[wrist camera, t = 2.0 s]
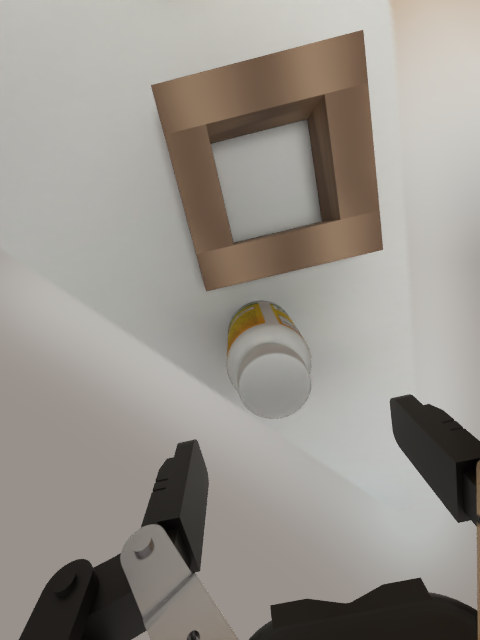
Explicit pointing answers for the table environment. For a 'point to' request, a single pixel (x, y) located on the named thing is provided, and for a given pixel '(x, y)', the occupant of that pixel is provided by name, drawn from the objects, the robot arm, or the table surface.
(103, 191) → the table surface
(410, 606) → the robot arm
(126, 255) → the table surface
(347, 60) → the socket block
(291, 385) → the supplement bottle
